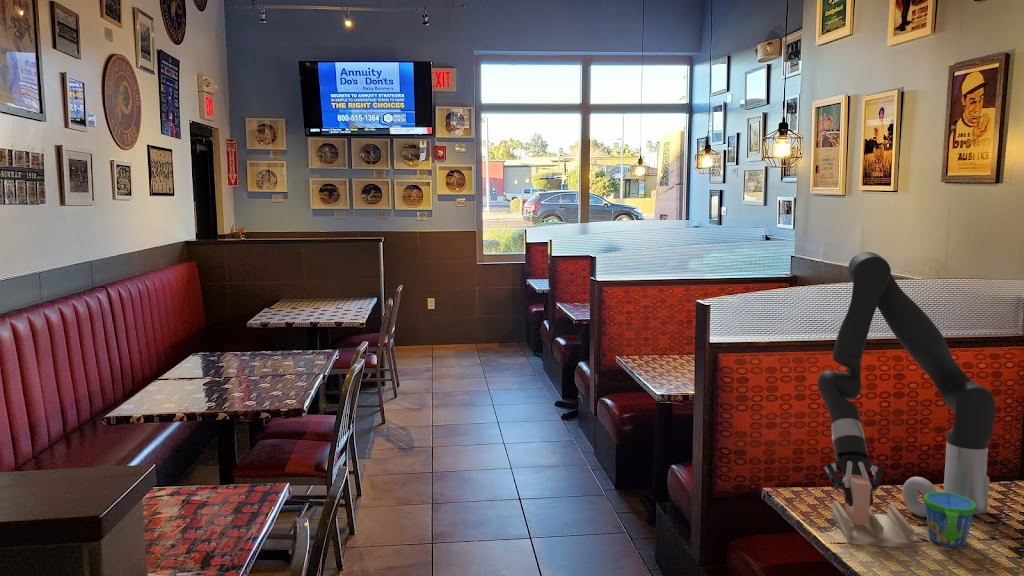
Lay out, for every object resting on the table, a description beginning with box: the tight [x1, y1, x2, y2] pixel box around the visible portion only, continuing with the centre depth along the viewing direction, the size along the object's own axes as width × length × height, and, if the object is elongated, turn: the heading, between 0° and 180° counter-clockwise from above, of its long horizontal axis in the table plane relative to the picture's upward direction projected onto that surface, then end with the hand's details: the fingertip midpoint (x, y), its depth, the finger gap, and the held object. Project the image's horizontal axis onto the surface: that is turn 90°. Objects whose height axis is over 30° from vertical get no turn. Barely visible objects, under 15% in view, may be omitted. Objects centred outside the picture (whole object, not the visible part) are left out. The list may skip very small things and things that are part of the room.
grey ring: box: [902, 476, 938, 518], centre depth 191 cm, size 10×4×10 cm, turn 18°
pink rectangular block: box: [844, 474, 872, 525], centre depth 182 cm, size 4×7×10 cm, turn 170°
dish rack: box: [831, 500, 915, 549], centre depth 182 cm, size 14×16×4 cm
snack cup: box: [923, 491, 976, 548], centre depth 176 cm, size 16×10×10 cm
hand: (859, 505), depth 180 cm, fingers closed on pink rectangular block, 3 cm apart
